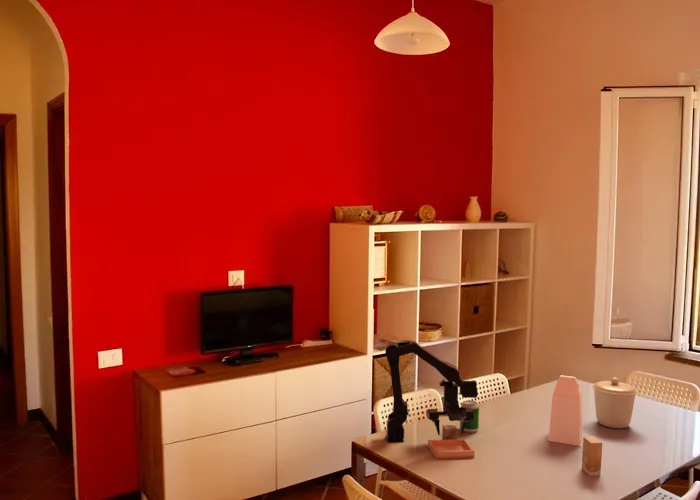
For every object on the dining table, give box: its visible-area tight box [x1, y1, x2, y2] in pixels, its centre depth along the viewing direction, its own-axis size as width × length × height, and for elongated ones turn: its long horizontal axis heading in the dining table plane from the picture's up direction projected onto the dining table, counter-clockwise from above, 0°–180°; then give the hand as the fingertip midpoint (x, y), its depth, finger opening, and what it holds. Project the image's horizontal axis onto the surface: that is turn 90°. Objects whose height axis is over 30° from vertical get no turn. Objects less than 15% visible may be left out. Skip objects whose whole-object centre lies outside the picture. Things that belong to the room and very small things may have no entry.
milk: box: [548, 375, 583, 447], centre depth 245 cm, size 12×12×26 cm
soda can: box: [460, 399, 480, 434], centre depth 254 cm, size 8×8×12 cm
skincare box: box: [581, 435, 603, 477], centre depth 213 cm, size 6×4×12 cm
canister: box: [591, 376, 638, 429], centre depth 263 cm, size 18×18×21 cm
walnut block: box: [441, 424, 459, 440], centre depth 241 cm, size 5×5×6 cm
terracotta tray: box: [427, 438, 476, 460], centre depth 231 cm, size 15×12×2 cm
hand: (449, 434), depth 241 cm, fingers open, 9 cm apart
